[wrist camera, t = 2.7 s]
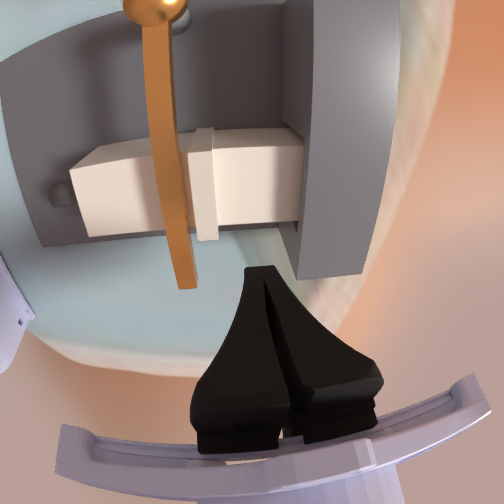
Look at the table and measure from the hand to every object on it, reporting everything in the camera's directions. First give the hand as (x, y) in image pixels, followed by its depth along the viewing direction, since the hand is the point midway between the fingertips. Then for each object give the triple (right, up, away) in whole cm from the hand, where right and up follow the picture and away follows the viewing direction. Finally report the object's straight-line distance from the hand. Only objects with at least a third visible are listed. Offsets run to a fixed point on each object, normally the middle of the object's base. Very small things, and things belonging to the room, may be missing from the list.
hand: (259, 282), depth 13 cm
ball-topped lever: (-4, +6, -2) cm, 8 cm away
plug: (-4, +7, +3) cm, 9 cm away
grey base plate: (-6, +9, +3) cm, 11 cm away
